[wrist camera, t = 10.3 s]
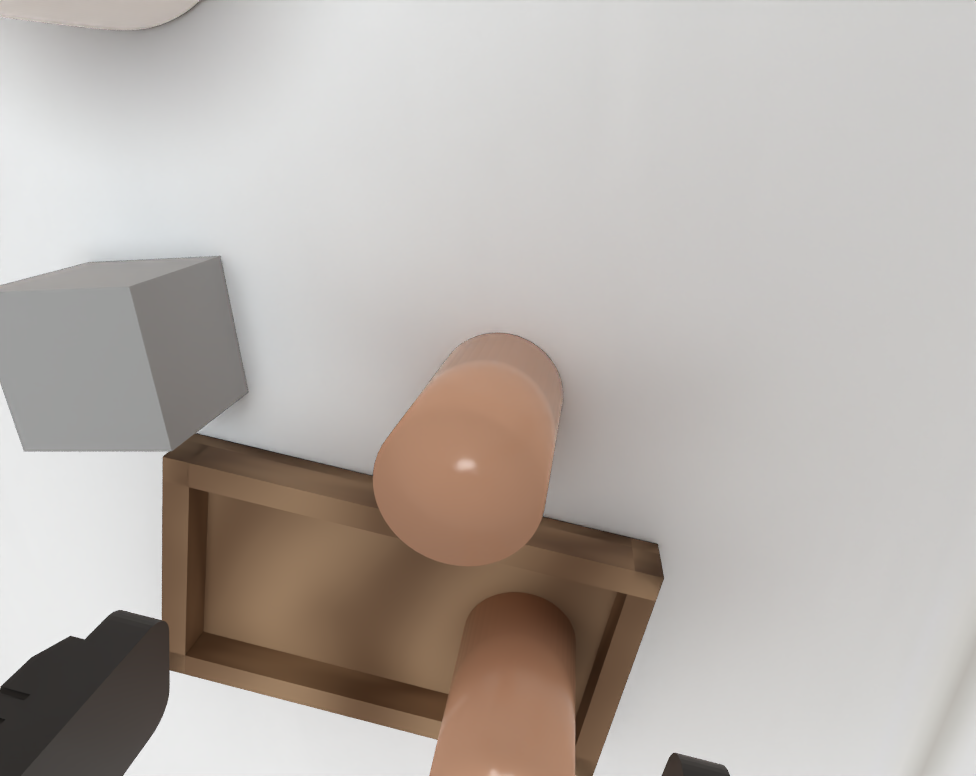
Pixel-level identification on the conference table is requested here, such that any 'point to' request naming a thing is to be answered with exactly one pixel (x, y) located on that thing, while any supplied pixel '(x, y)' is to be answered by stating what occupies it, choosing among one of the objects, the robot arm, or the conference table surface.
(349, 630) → the tray
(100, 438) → the grey block
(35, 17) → the candle holder
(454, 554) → the clay cylinder
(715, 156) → the conference table surface
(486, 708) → the clay cylinder
